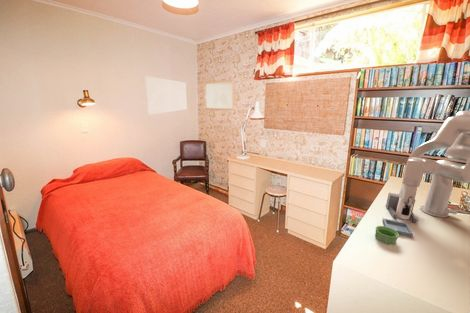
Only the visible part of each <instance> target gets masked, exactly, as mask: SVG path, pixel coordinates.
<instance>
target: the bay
mask: <svg viewBox="0 0 470 313" xmlns="http://www.w3.org/2000/svg"><path fill="white" fill-rule="evenodd" d="M398 202H399V193H397V194H396V193H391V192H388V195H387V200H386V204H385V207H386V210H387V211H388V212H389V213H390V215H391V217H392V220H396V219H397V215H396V210H397V206H398ZM415 204H416V199H415V200H414V204H413V208H412V211H411V215H410V218H409V219H410V220H411V221H412V223H413V224H417V222H418V218H417V217H416V215H415V214H414V212H413V211H414V210H413V209H414V207H415Z"/></svg>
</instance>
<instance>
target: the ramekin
mask: <svg viewBox="0 0 470 313" xmlns="http://www.w3.org/2000/svg"><path fill="white" fill-rule="evenodd" d="M374 236H375V239H376V240H378V241H379V242H380V243H381V244H385V245H395V244H396V243H397V241H398V238H399V237H400V235H399V234H398V232H396V231H395V230H393V229H391V228H388V227H385V226H384V225H377V226H376V227H375V234H374Z"/></svg>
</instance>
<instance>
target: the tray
mask: <svg viewBox="0 0 470 313" xmlns="http://www.w3.org/2000/svg"><path fill="white" fill-rule="evenodd" d="M382 224H383V225H382V226H385V227H388V228H391V229H393V230H395V231H396V232H398V234H399V236H403V237H407V238H411V239H413V237H414V232H413V230H412V229H411V227H410V226H409V224H408V223H407V222H402V221H398V220H395V219H389V218H384V217H382Z"/></svg>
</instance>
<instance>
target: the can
mask: <svg viewBox="0 0 470 313" xmlns="http://www.w3.org/2000/svg"><path fill="white" fill-rule="evenodd" d="M406 203H408V201H407V202H406ZM413 204H414V205H415V203H413ZM413 204H412V206H411V209H410V212H409V216H407V215H402V214H401V213H402V209H403V207H404V203H403V202H402V201H401V198H399V202H398V206H397V210H396V211H395V213H396V215H397V216H396V218H398V219H401V220H405V221H408V220H410V219H411V218H410V215H411V211H412V208H413V209H414V207H413ZM406 205H408V204H406ZM412 212H413V211H412Z"/></svg>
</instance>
